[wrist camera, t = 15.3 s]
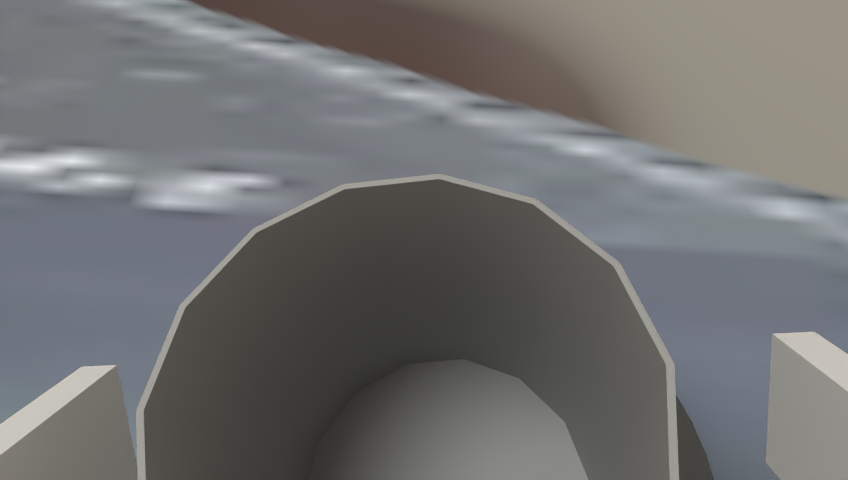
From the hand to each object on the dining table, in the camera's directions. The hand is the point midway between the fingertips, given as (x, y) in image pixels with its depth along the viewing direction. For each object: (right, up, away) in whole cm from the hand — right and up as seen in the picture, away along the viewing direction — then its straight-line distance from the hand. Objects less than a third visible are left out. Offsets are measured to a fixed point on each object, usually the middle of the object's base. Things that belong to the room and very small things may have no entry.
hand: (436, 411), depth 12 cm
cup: (0, -4, +6) cm, 7 cm away
